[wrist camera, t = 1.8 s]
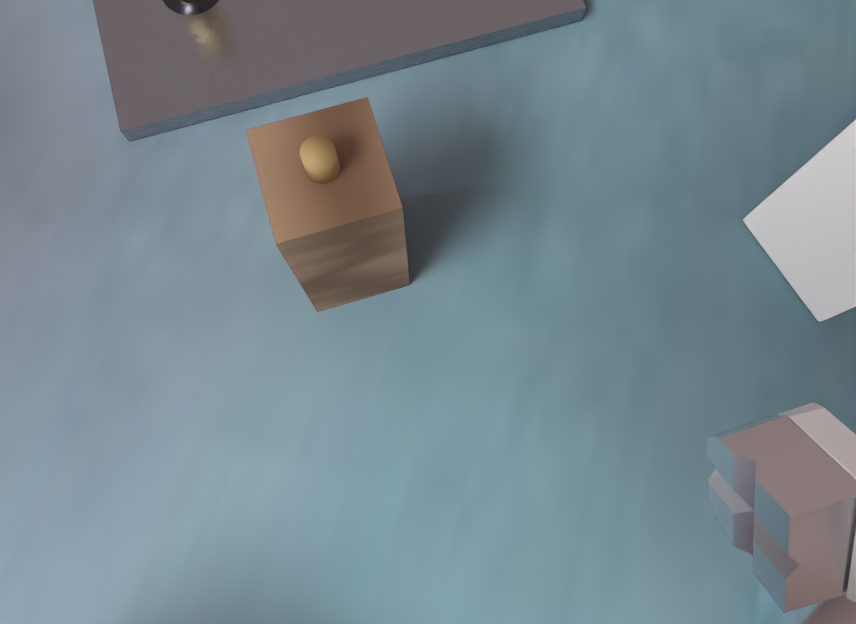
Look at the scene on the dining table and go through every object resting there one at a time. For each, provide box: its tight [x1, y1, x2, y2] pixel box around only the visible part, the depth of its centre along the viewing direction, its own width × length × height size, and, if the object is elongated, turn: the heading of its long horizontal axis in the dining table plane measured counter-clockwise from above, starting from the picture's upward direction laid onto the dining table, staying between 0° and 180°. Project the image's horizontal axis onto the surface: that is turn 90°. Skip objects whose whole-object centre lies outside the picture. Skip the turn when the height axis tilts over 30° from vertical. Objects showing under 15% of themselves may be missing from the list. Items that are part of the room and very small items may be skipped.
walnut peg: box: [246, 97, 410, 312], centre depth 28 cm, size 4×4×10 cm
